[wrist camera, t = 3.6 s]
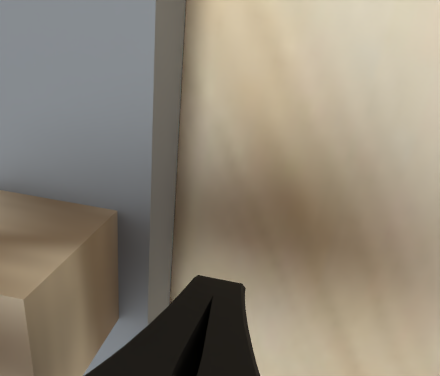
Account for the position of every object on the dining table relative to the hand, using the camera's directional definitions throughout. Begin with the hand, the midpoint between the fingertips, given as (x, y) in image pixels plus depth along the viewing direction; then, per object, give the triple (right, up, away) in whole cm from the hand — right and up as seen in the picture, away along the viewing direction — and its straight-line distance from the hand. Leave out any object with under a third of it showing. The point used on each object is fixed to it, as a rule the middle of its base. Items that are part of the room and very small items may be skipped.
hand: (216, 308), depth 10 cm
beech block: (-5, +1, +2) cm, 5 cm away
